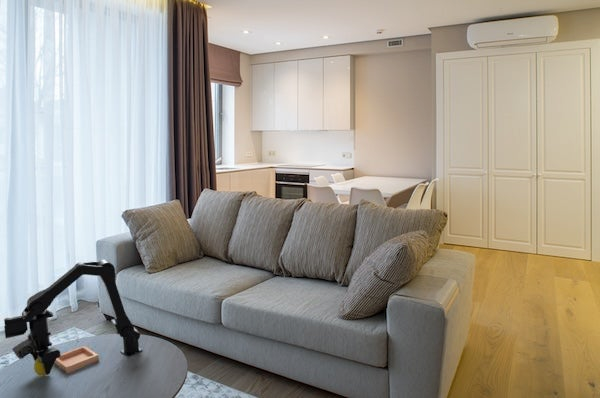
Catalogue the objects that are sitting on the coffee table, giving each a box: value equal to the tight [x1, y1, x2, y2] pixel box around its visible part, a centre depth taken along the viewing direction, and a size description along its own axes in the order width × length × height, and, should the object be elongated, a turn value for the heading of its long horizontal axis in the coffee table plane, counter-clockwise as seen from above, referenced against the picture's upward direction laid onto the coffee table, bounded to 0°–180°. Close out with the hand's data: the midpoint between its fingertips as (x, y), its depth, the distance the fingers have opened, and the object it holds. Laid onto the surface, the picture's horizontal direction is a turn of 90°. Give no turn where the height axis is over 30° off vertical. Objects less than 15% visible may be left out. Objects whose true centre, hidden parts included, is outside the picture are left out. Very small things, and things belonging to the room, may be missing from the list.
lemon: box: [33, 358, 47, 377], centre depth 160 cm, size 6×6×8 cm
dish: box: [54, 345, 100, 374], centre depth 170 cm, size 12×12×2 cm
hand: (43, 370), depth 160 cm, fingers open, 8 cm apart
